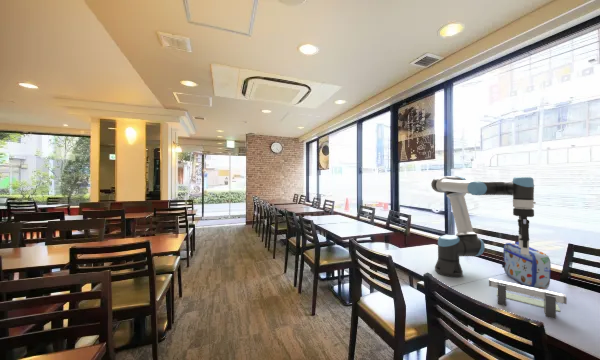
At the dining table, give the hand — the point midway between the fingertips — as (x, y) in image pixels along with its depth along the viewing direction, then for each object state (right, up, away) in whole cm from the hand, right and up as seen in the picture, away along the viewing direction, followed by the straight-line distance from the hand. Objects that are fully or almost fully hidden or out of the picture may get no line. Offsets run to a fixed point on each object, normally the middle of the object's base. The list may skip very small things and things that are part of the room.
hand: (523, 251), depth 116 cm
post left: (-13, -25, -2) cm, 28 cm away
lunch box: (+20, -25, +21) cm, 39 cm away
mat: (+1, -25, 0) cm, 25 cm away
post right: (0, -25, -12) cm, 27 cm away
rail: (-6, -18, -7) cm, 20 cm away
